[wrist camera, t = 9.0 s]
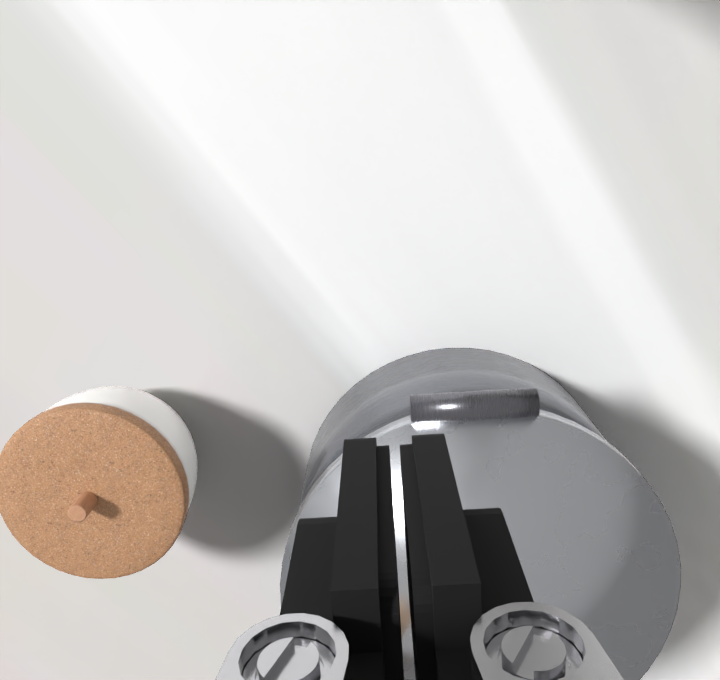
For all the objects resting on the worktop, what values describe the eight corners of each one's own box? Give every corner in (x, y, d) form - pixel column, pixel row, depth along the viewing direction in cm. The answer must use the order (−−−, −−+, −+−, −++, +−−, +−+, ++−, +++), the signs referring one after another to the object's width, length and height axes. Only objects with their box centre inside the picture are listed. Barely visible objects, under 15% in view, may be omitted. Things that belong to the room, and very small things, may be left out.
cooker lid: (260, 398, 33) (249, 424, 30) (684, 372, 33) (716, 396, 29) (311, 815, 41) (306, 870, 38) (654, 802, 40) (678, 856, 37)
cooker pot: (291, 357, 43) (269, 420, 34) (607, 338, 42) (676, 395, 33) (326, 687, 51) (316, 815, 41) (596, 674, 50) (649, 802, 40)
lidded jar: (248, 439, 45) (218, 514, 36) (146, 538, 47) (94, 632, 38) (123, 329, 43) (57, 380, 34) (22, 439, 45) (-64, 513, 36)
